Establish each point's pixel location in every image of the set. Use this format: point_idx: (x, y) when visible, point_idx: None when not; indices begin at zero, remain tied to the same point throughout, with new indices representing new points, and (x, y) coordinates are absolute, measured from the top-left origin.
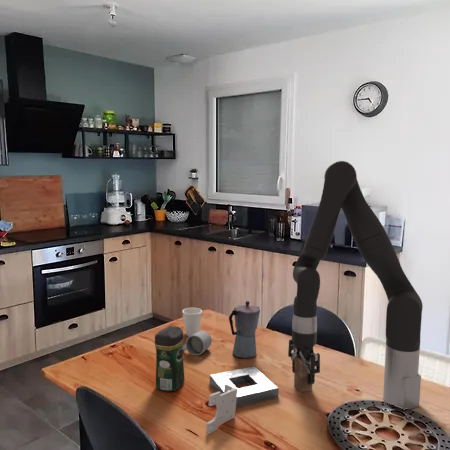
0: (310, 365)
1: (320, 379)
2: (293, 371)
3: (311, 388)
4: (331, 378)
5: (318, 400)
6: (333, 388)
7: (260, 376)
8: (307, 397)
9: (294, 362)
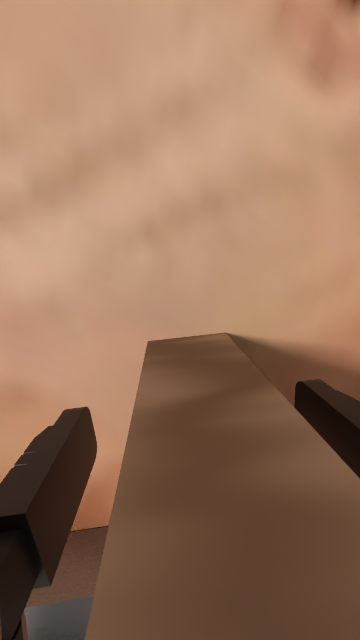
0: None
1: (112, 201)
2: (92, 461)
3: (227, 338)
4: (117, 93)
5: (336, 352)
6: (261, 183)
7: (86, 618)
8: (286, 391)
9: (48, 567)
